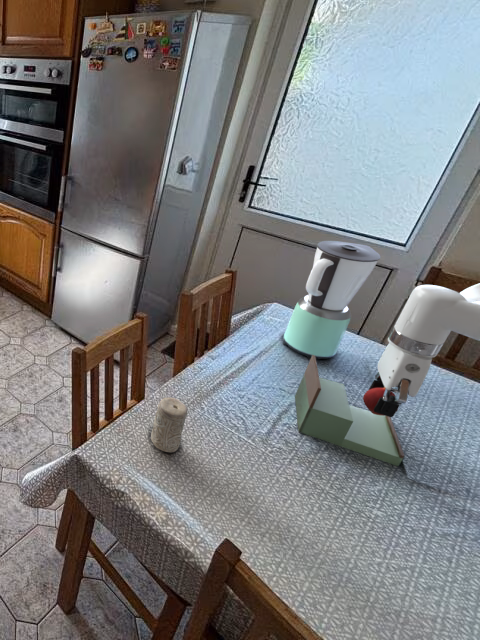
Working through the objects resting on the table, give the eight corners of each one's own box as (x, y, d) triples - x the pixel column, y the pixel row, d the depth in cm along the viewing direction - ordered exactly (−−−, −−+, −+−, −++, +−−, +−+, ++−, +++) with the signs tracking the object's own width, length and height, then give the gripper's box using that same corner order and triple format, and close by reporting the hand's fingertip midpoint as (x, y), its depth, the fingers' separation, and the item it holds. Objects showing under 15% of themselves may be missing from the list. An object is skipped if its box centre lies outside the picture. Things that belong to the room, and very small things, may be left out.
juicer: (302, 331, 137) (341, 234, 122) (348, 355, 126) (397, 251, 111) (262, 344, 131) (298, 244, 116) (306, 370, 120) (352, 263, 105)
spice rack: (384, 424, 102) (408, 380, 96) (398, 466, 91) (427, 420, 85) (294, 396, 111) (312, 354, 105) (298, 431, 100) (318, 387, 94)
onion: (397, 419, 94) (413, 393, 91) (379, 425, 93) (395, 399, 89) (368, 401, 99) (382, 376, 96) (351, 407, 98) (365, 381, 94)
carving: (179, 437, 99) (190, 399, 94) (177, 461, 93) (188, 422, 88) (151, 427, 102) (160, 390, 97) (147, 450, 96) (156, 412, 91)
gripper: (454, 370, 79) (411, 437, 87) (426, 326, 92) (392, 388, 100) (400, 357, 83) (365, 422, 90) (381, 316, 96) (352, 376, 103)
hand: (379, 403), depth 95 cm, fingers closed on onion, 5 cm apart
